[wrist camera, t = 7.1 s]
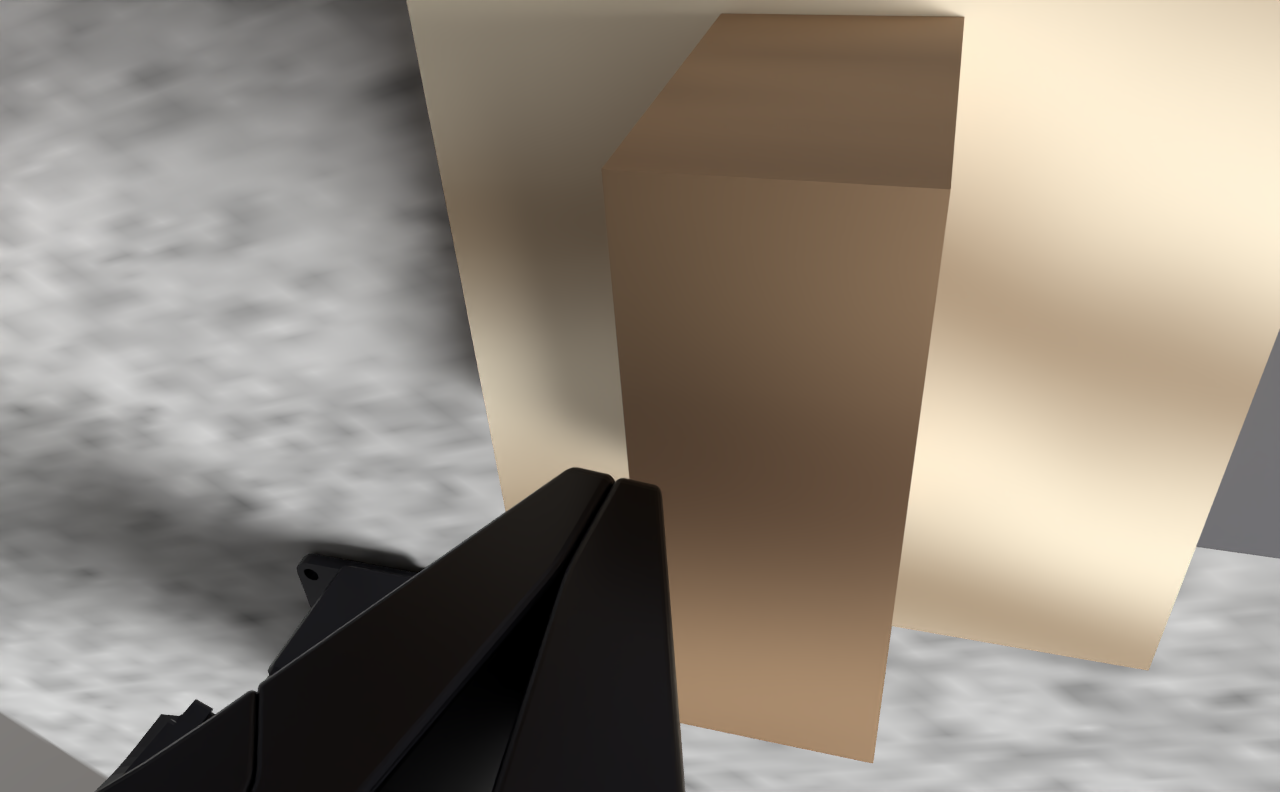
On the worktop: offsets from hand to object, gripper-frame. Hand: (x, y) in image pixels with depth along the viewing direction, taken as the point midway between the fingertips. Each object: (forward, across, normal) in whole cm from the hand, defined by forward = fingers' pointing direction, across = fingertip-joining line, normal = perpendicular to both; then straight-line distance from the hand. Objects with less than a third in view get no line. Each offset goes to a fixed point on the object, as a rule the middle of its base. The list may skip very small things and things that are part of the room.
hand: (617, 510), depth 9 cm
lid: (+8, -1, +1) cm, 8 cm away
